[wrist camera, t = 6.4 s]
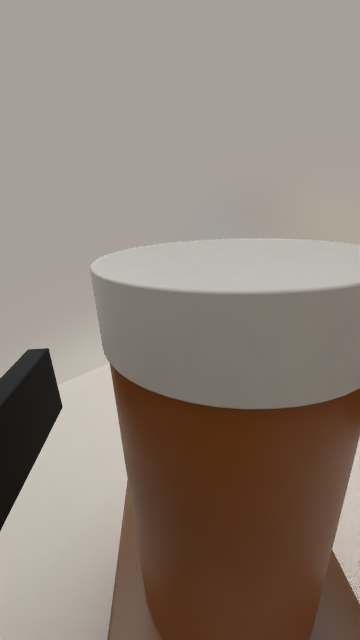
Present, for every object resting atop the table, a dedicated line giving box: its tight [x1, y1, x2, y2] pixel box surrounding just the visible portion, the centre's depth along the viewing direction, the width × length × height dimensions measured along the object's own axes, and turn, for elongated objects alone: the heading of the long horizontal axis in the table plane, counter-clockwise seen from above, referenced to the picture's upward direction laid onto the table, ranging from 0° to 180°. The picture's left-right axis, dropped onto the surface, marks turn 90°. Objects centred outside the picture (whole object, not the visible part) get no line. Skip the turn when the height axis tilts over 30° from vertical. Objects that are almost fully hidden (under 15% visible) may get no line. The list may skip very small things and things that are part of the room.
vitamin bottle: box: [90, 238, 360, 640], centre depth 8 cm, size 6×6×11 cm
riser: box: [108, 481, 360, 640], centre depth 12 cm, size 8×8×7 cm
